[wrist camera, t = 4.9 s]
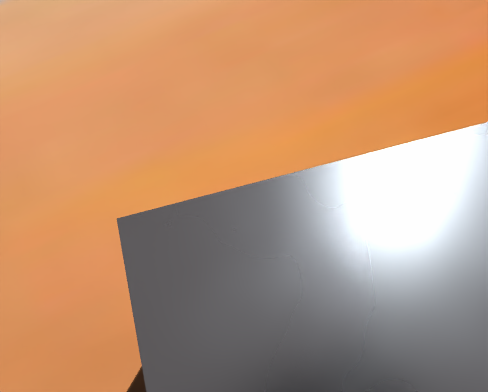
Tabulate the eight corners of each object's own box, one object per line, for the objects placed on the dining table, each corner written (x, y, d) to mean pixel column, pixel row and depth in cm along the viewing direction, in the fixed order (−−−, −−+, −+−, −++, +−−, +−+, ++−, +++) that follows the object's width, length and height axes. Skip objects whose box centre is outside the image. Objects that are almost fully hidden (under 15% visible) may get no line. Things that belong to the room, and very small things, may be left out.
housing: (430, 464, 13) (881, 638, 4) (243, 532, 12) (242, 952, 3) (354, 279, 15) (516, 114, 6) (196, 326, 15) (116, 218, 5)
